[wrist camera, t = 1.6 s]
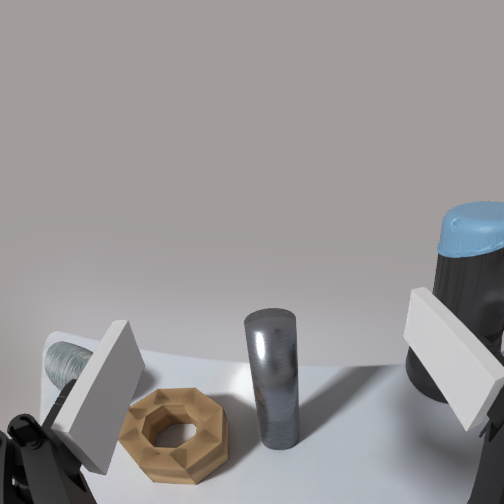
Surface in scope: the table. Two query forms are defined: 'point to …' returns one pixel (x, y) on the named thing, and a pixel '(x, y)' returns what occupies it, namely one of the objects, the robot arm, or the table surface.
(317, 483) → the table surface
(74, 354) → the grey yarn skein
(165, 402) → the brown thick faceted ring
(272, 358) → the rod
